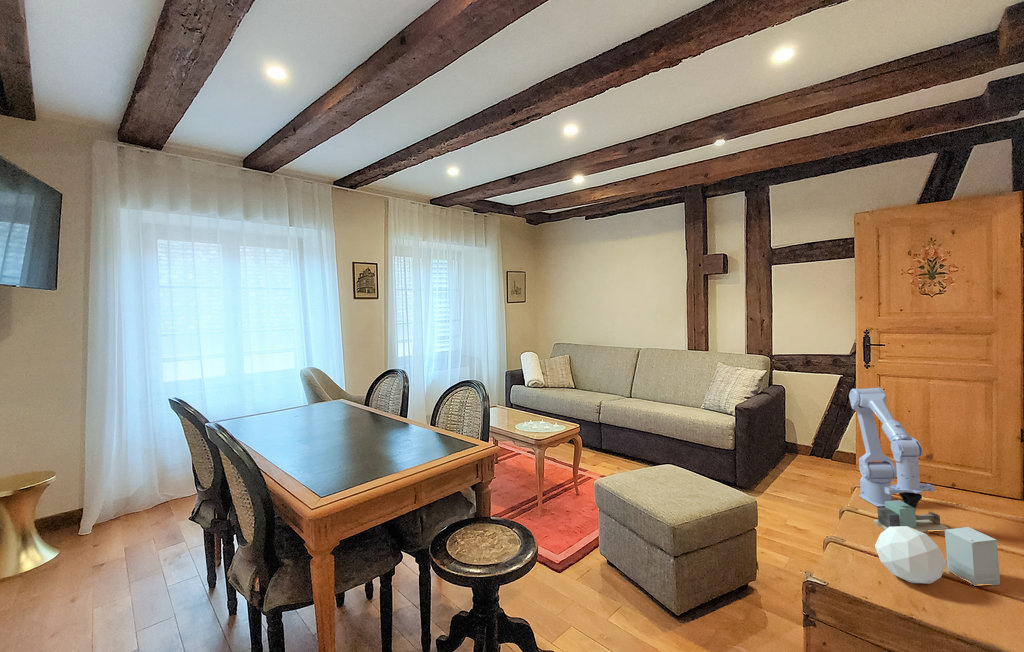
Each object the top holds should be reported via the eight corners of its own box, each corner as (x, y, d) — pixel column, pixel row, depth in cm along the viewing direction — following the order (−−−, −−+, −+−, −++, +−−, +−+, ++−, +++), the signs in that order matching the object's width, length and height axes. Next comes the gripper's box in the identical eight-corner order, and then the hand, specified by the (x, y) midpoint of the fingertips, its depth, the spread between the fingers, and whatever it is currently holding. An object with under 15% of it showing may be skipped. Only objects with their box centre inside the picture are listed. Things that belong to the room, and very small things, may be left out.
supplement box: (1001, 585, 114) (998, 539, 114) (974, 588, 114) (971, 542, 114) (971, 568, 121) (968, 526, 121) (946, 571, 121) (943, 528, 121)
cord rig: (873, 522, 149) (872, 506, 149) (927, 519, 148) (925, 502, 147) (892, 534, 141) (891, 517, 141) (949, 531, 140) (948, 513, 139)
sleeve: (886, 519, 147) (884, 501, 147) (900, 518, 147) (899, 500, 147) (900, 528, 141) (899, 509, 141) (916, 527, 141) (915, 508, 141)
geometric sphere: (922, 591, 121) (957, 552, 119) (922, 601, 111) (961, 558, 108) (866, 550, 131) (897, 513, 129) (861, 555, 121) (895, 515, 118)
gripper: (895, 480, 140) (898, 520, 140) (941, 477, 139) (944, 516, 140) (878, 472, 147) (881, 510, 147) (921, 468, 146) (924, 506, 147)
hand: (910, 512), depth 144 cm, fingers closed
